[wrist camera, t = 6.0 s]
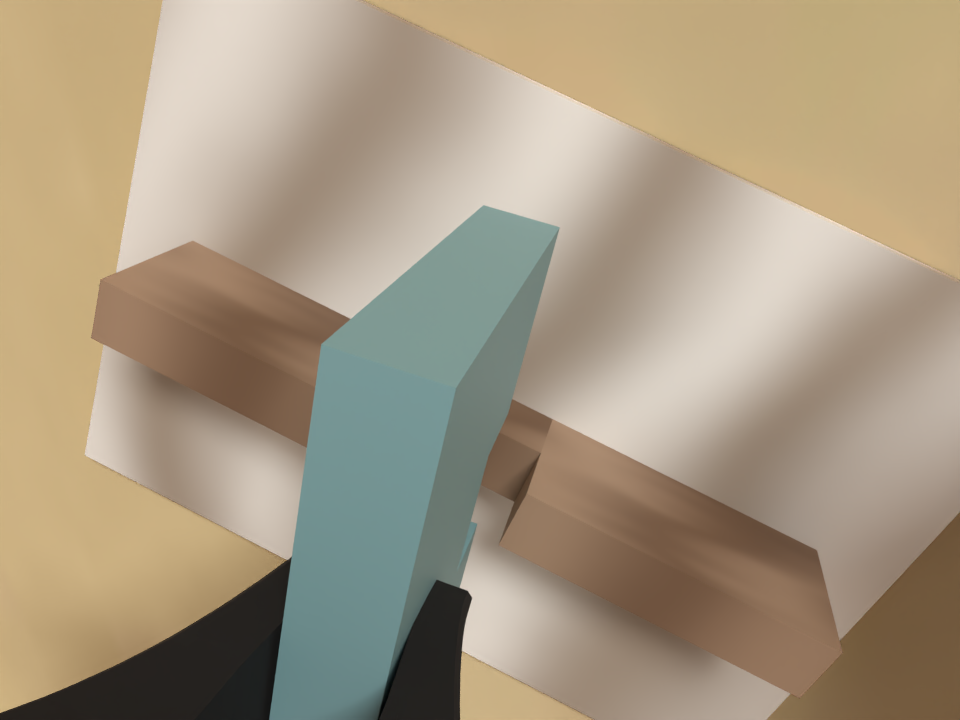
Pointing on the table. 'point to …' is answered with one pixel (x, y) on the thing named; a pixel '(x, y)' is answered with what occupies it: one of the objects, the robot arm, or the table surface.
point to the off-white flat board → (534, 354)
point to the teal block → (402, 459)
